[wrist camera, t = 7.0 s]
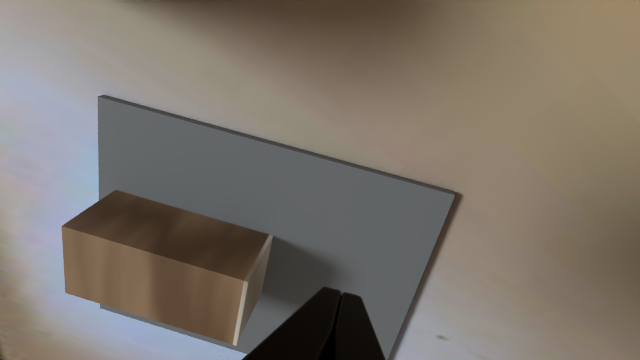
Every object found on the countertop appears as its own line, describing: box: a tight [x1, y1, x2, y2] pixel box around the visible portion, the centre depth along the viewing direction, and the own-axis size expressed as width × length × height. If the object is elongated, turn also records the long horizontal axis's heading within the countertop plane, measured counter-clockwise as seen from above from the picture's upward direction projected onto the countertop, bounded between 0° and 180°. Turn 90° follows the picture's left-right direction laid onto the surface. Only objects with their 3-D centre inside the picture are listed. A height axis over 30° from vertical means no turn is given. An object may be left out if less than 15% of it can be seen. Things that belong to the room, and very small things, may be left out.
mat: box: [98, 95, 455, 360], centre depth 23 cm, size 18×14×1 cm
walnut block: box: [62, 190, 273, 346], centre depth 21 cm, size 4×4×9 cm
